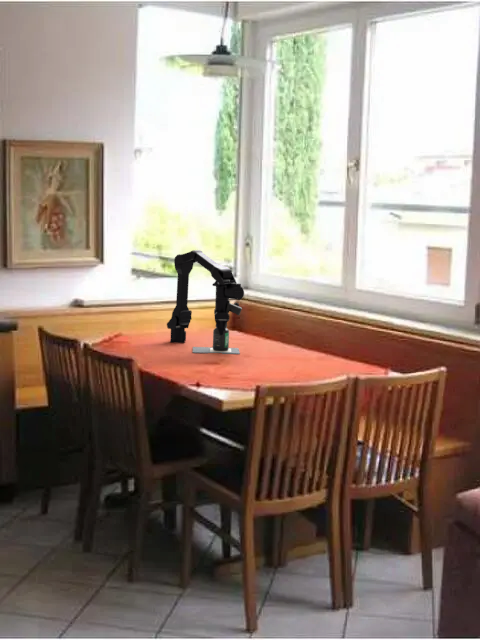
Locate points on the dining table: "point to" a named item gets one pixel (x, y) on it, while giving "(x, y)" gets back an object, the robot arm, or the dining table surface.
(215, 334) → the supplement bottle
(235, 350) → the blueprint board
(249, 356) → the dining table surface
